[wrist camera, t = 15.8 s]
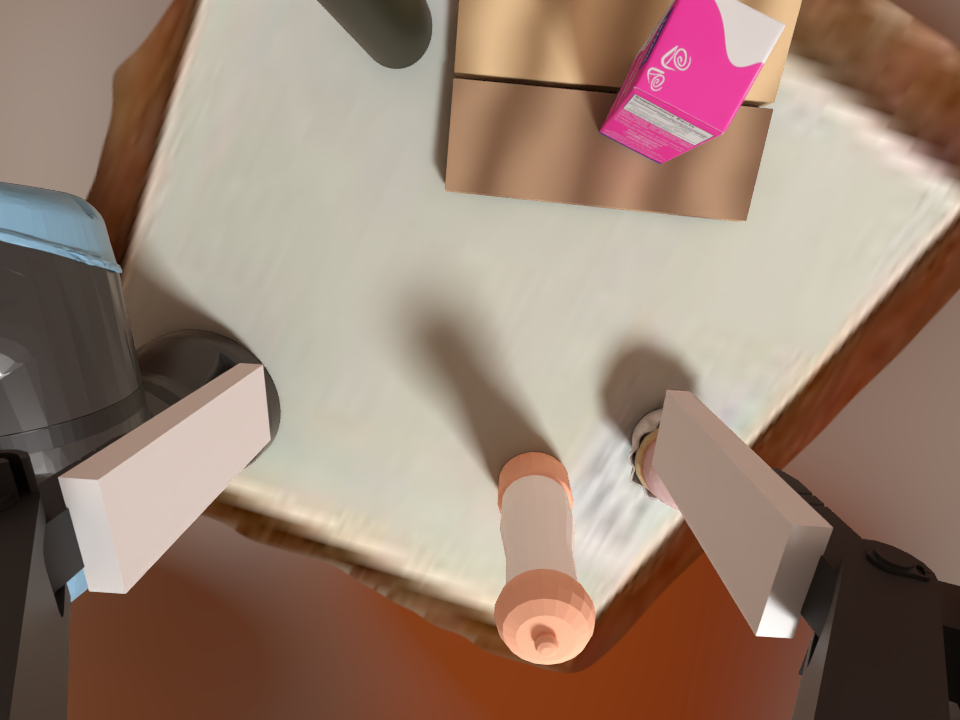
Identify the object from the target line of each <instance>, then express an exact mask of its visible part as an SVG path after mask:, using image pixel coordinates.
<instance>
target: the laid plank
mask: <svg viewBox="0 0 960 720" xmlns="http://www.w3.org/2000/svg"><path fill="white" fill-rule="evenodd" d="M672 1H673V0H459V9H458V24H457V38H456V52H455V67H454V72H455V74H456V77H464V78H474V79H485V80H495V81H505V82H516V83H526V84H536V85H547V86H557V87H568V88H578V89H588V90H599V91H609V92H619V91H620V89H621V87H622V85H623V83H624V80H625V78H626V76H627V74H628V72H629V70H630V68H631V65H632V63H633V61H634V58H635V57H636V55H637V53H638V52H639V50H640V49H641V47H642V46H643V44H644V43H645V41H646V40H647V38H648V37H649V35H650V34H651V32H652V31H653V29H654V28H655V26H656V25H657V23H658V22H659V20H660V19H661V17H662V16H663V15H664V13H665V12H666V10H667V9H668V7H669V6H670V4H671V3H672ZM738 1H740V2H742V3H744V4H746V5H748V6H749V7H751V8H753V9H755V10H757V11H759V12H761V13H763V14H765V15H767V16H769V17H771V18H773V19H776V20H778V21H780V22H782V23H784V24H785V25H786V26H785V28H784V30H783V32H782V34H781V35H780V37H779V39H778V41H777V42H776V44H775V46H774V48H773V50H772V51H771V53H770V55H769V57H768V59H767V60H766V62H765V64H764V66H763V67H762V69H761V71H760V73H759V75H758V76H757V78H756V80H755V82H754V83H753V85H752V87H751V89H750V90H749V92H748V94H747V96H746V98H745V99H744V101H743V103H742V104H744V105H755V106H765V105H768V104H771V103H773V102H775V98H776V94H777V91H778V87H779V83H780V79H781V76H782V72H783V68H784V65H785V61H786V57H787V54H788V50H789V46H790V43H791V39H792V35H793V32H794V28H795V24H796V20H797V17H798V13H799V9H800V6H801V2H802V0H738Z"/></svg>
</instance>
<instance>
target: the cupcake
mask: <svg viewBox="0 0 960 720" xmlns="http://www.w3.org/2000/svg"><path fill="white" fill-rule="evenodd" d="M662 410H663V408H661V409H658V410H655V411H652V412H650V413H648V414H647V415H645V416H644V417H643V418H642V419H641V420H640V421H639V422H638V424H637V425H636V427H635V428H634V431H633V435H632V450H631V452H630V454H629V455H628V457H627V459H628V462H629V463H630V465H631V466H632V472H631V476H630V482H631V483H633V484H635V485H638V486H640V487H643V491H644V495H645V496H646V497H647V498H649V499H652V500H654V499H659V500H660V501H661V502H663V503H665V504H667V505H669V506H671V507H673V508H675V509H677V510H679V508H678V507H677V505H676V503H675V502H674V500H673V499H672V497H671V495H670V494H669V492H668V490H667V489H666V487H665V485H664V484H663V482H662V480H661V479H660V477H659V475H658V474H657V472H656V470H655V469H654V467H653V466H652V460H653V455H654V450H655V445H656V440H657V435H658V430H659V425H660V420H661V415H662Z"/></svg>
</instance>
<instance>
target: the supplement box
mask: <svg viewBox="0 0 960 720" xmlns="http://www.w3.org/2000/svg"><path fill="white" fill-rule="evenodd" d="M785 26H786V25H785V24H784V23H782V22H780V21H778V20H776V19H773V18H771V17H769V16H767V15H765V14H763V13H761V12H759V11H757V10H755V9H753V8H751V7H749V6H748V5H746V4H744V3H742V2H740V1H738V0H673V1H672V3H671V4H670V6H669V7H668V9H667V10H666V12H665V13H664V15H663V16H662V17H661V19H660V20H659V22H658V23H657V25H656V26H655V28H654V29H653V31H652V32H651V34H650V35H649V37H648V38H647V40H646V41H645V43H644V44H643V46H642V47H641V49H640V50H639V52H638V53H637V55H636V57H635V58H634V61H633V63H632V65H631V68H630V70H629V72H628V74H627V76H626V78H625V80H624V83H623V85H622V87H621V89H620V91H619V93H618V95H617V97H616V99H615V101H614V103H613V105H612V107H611V109H610V111H609V113H608V115H607V117H606V119H605V120H604V122H603V124H602V126H601V128H600V130H599V133H601V134H603V135H604V136H607V137H608V138H610V139H612V140H614V141H616V142H618V143H620V144H622V145H624V146H626V147H628V148H629V149H631V150H633V151H635V152H637V153H639V154H641V155H643V156H645V157H647V158H649V159H651V160H653V161H655V162H657V163H659V164H663V163H665V162H667V161H669V160H671V159H673V158H675V157H677V156H679V155H681V154H683V153H685V152H687V151H689V150H691V149H693V148H695V147H697V146H699V145H701V144H703V143H705V142H707V141H709V140H711V139H714V138H716V137H718V136H720V135H722V134H723V133H724V132H725V131H726V130H727V128H728V127H729V125H730V123H731V122H732V120H733V118H734V117H735V115H736V113H737V111H738V110H739V108H740V106H741V104H742V103H743V101H744V99H745V98H746V96H747V94H748V92H749V90H750V89H751V87H752V85H753V83H754V82H755V80H756V78H757V76H758V75H759V73H760V71H761V69H762V67H763V66H764V64H765V62H766V60H767V59H768V57H769V55H770V53H771V51H772V50H773V48H774V46H775V44H776V42H777V41H778V39H779V37H780V35H781V34H782V32H783V30H784V28H785Z"/></svg>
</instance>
